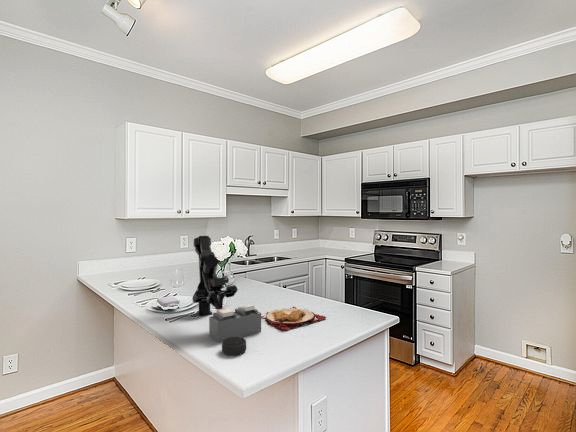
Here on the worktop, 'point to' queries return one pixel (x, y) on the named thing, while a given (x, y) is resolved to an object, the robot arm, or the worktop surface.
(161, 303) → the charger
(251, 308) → the block
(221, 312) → the rocker
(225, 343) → the smart speaker
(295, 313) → the plate with food
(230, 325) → the switch box
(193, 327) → the worktop surface
